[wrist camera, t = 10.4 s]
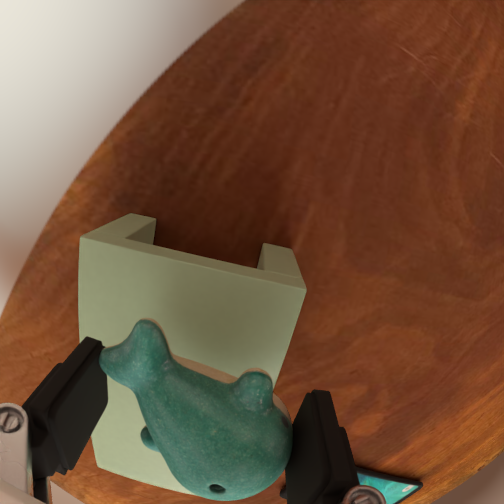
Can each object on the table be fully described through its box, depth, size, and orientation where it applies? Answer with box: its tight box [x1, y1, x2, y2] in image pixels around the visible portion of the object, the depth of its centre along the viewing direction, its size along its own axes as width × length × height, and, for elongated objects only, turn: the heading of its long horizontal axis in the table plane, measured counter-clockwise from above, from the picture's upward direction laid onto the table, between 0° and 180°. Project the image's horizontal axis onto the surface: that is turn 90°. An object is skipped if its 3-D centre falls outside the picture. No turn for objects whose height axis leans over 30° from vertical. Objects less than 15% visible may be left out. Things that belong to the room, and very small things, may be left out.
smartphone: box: [280, 466, 423, 504], centre depth 23 cm, size 7×1×15 cm
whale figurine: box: [99, 318, 293, 501], centre depth 9 cm, size 6×7×4 cm
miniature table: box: [78, 213, 307, 496], centre depth 16 cm, size 16×9×6 cm, turn 167°
